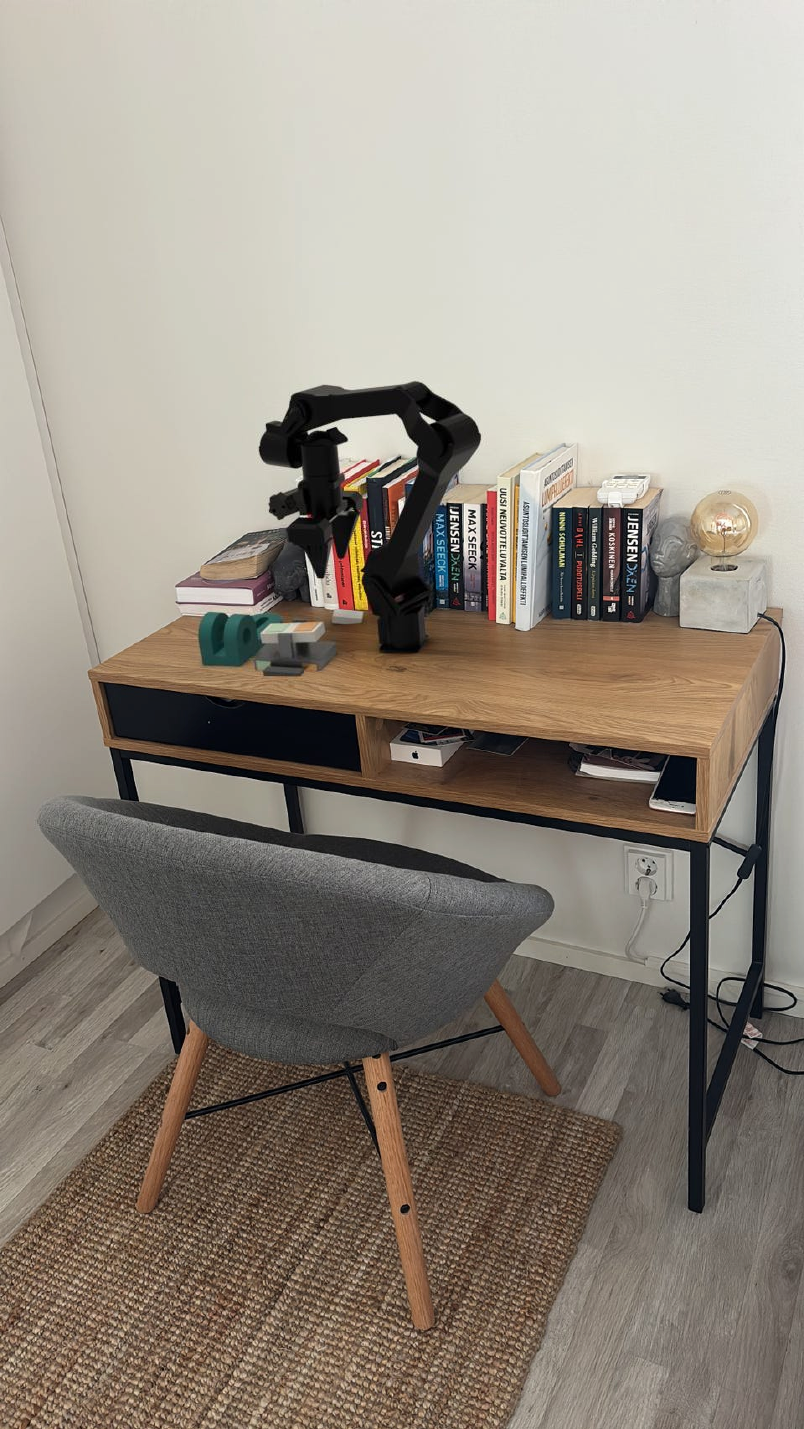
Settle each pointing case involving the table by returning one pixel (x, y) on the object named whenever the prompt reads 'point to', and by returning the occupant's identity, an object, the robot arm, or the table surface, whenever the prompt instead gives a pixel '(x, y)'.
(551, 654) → the table surface
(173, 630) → the table surface
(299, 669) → the dark grey rectangular bar
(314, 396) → the robot arm
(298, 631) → the rocker switch
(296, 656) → the grey stand
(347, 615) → the eraser
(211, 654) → the bracket
